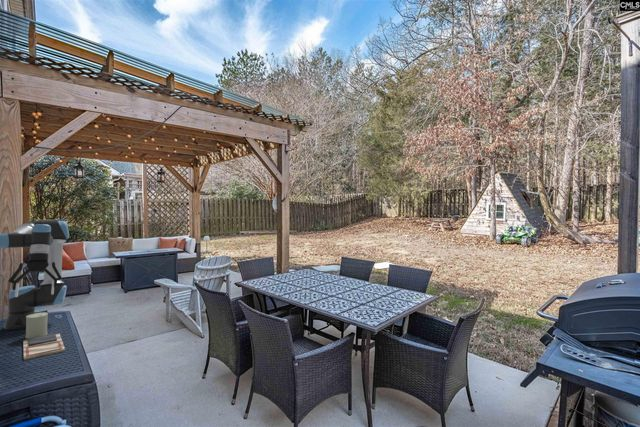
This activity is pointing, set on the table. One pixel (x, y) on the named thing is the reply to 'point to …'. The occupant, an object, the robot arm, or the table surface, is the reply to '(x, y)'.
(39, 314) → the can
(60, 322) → the table surface
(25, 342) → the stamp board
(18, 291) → the robot arm
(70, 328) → the table surface
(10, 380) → the table surface
